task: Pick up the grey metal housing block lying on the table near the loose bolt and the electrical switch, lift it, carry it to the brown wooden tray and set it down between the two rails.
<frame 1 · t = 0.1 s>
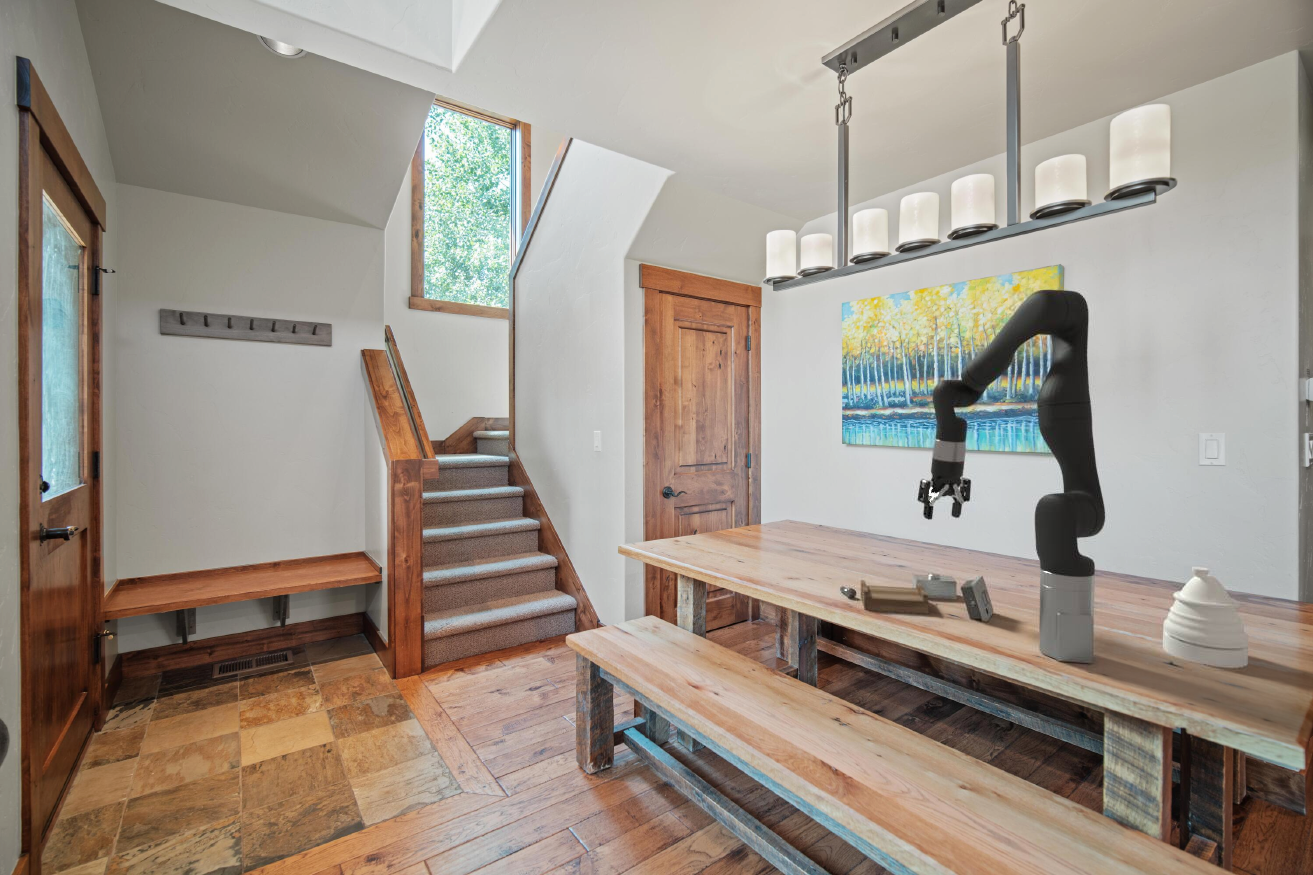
hand: (941, 517, 158), 22 cm above the table, tool pointing down, fingers open, 8 cm apart
honey pot: (1203, 655, 123), on the table
electrical switch: (977, 616, 148), on the table
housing: (933, 595, 165), on the table
bolt: (847, 594, 166), on the table
brown wooden tray: (892, 604, 157), on the table
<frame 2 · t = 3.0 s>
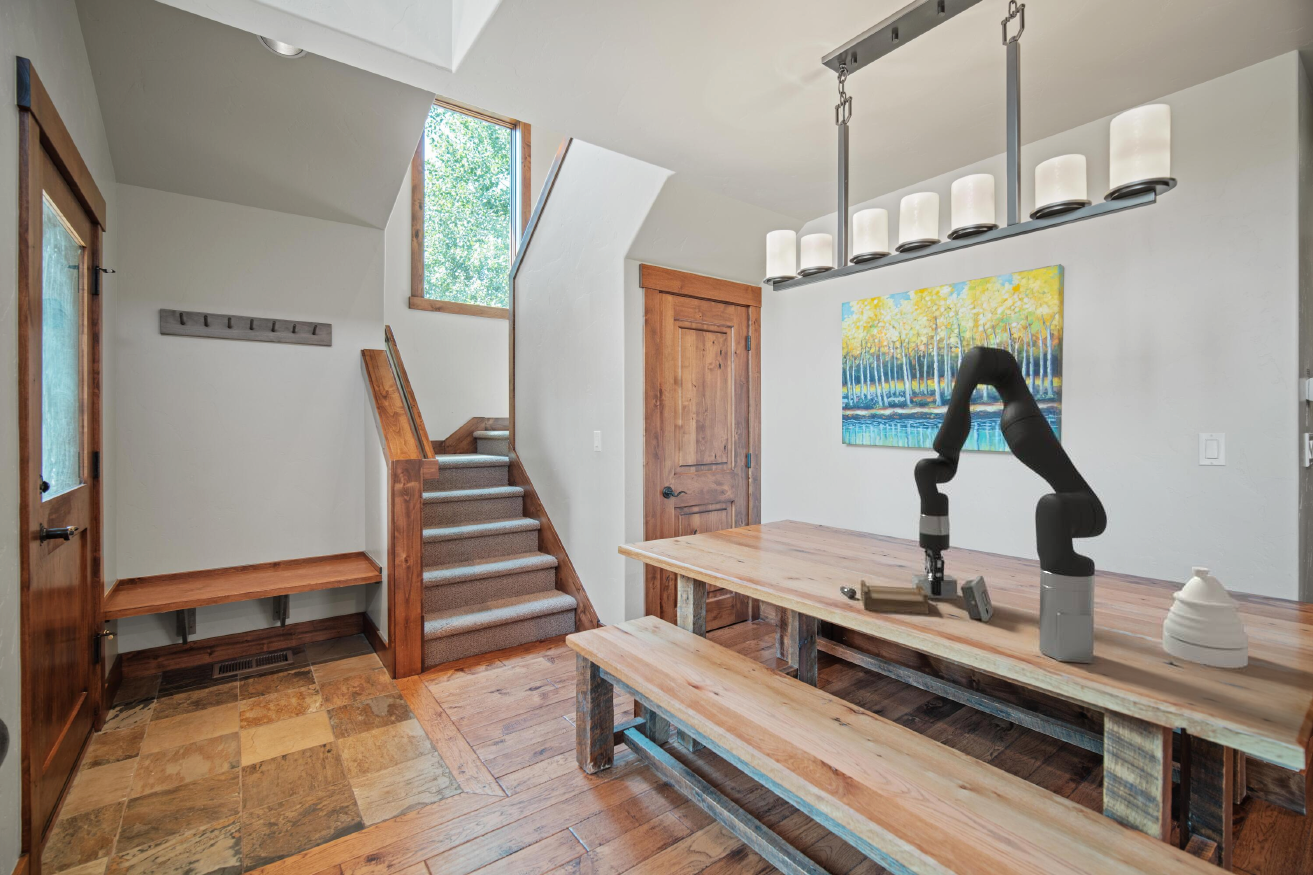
hand: (933, 591, 165), 1 cm above the table, tool pointing down, fingers closed on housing, 6 cm apart
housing: (934, 595, 165), on the table, touching gripper
everything else where it was.
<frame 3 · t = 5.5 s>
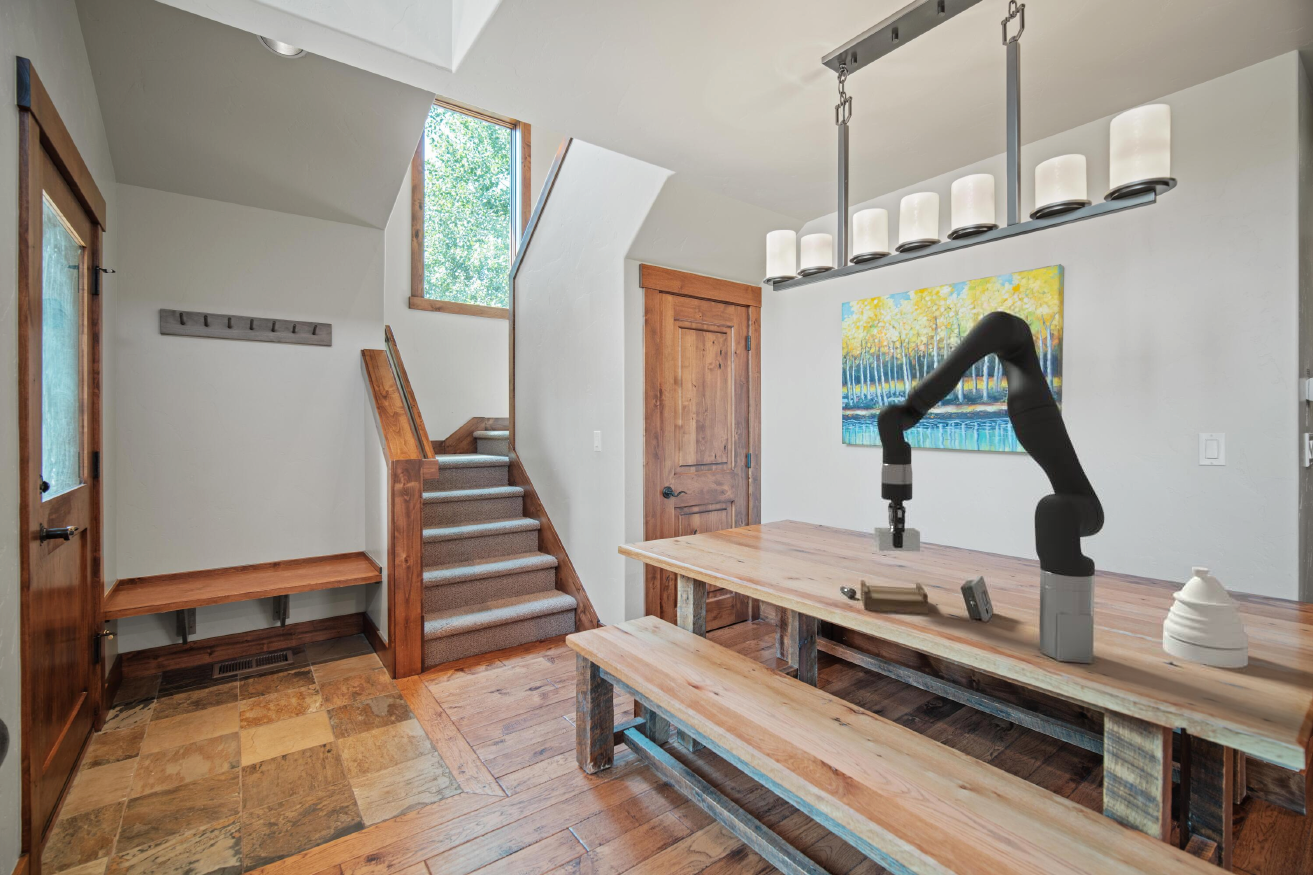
hand: (896, 544, 157), 15 cm above the table, tool pointing down, fingers closed on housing, 6 cm apart
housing: (896, 548, 157), point 14 cm above the table, touching gripper
everything else where it was.
when the fingers open (5 cm above the table, at t = 8.1 s): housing stays where it is, resting on brown wooden tray.
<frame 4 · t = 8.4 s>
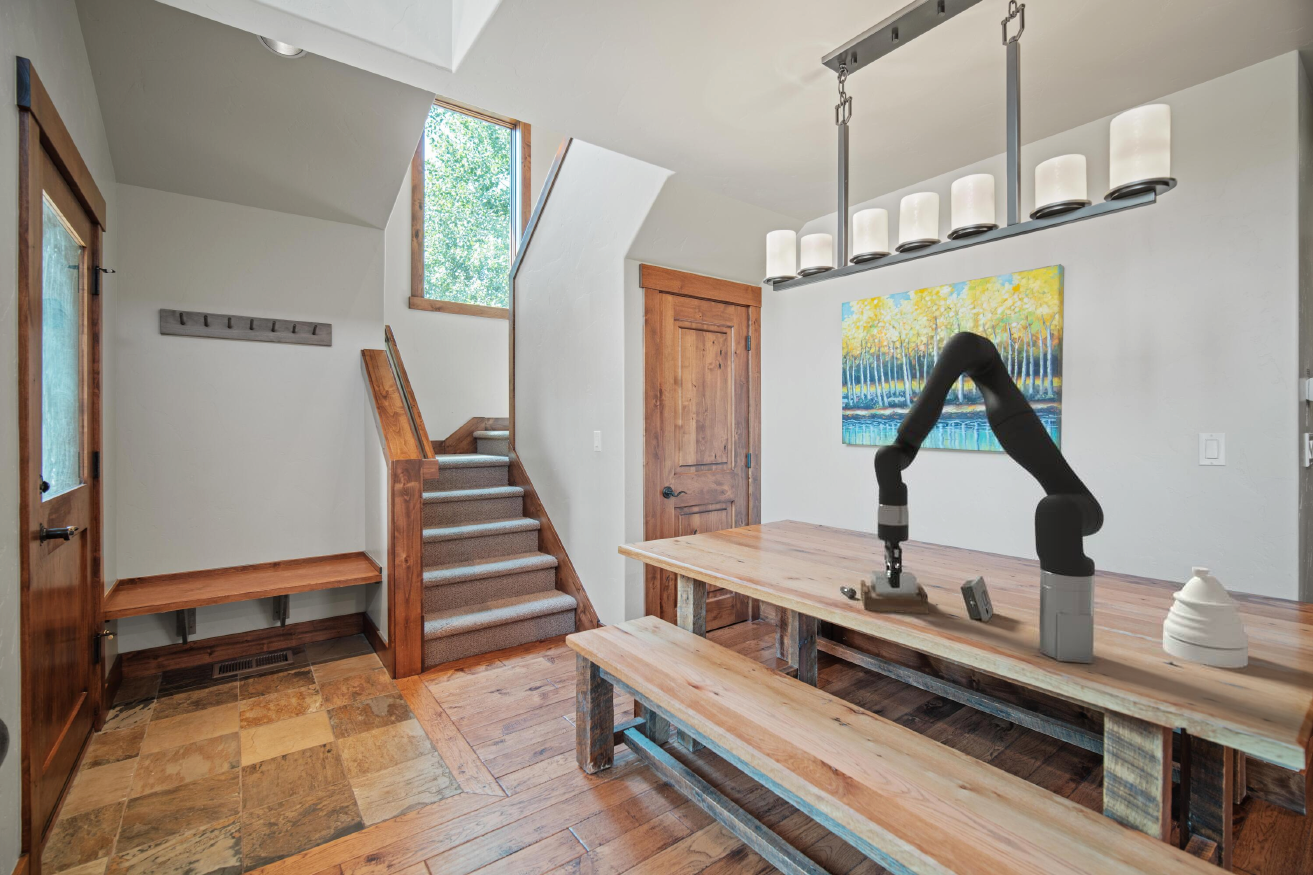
hand: (892, 583, 157), 6 cm above the table, tool pointing down, fingers open, 8 cm apart
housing: (893, 593, 157), point 3 cm above the table, touching brown wooden tray
everything else where it was.
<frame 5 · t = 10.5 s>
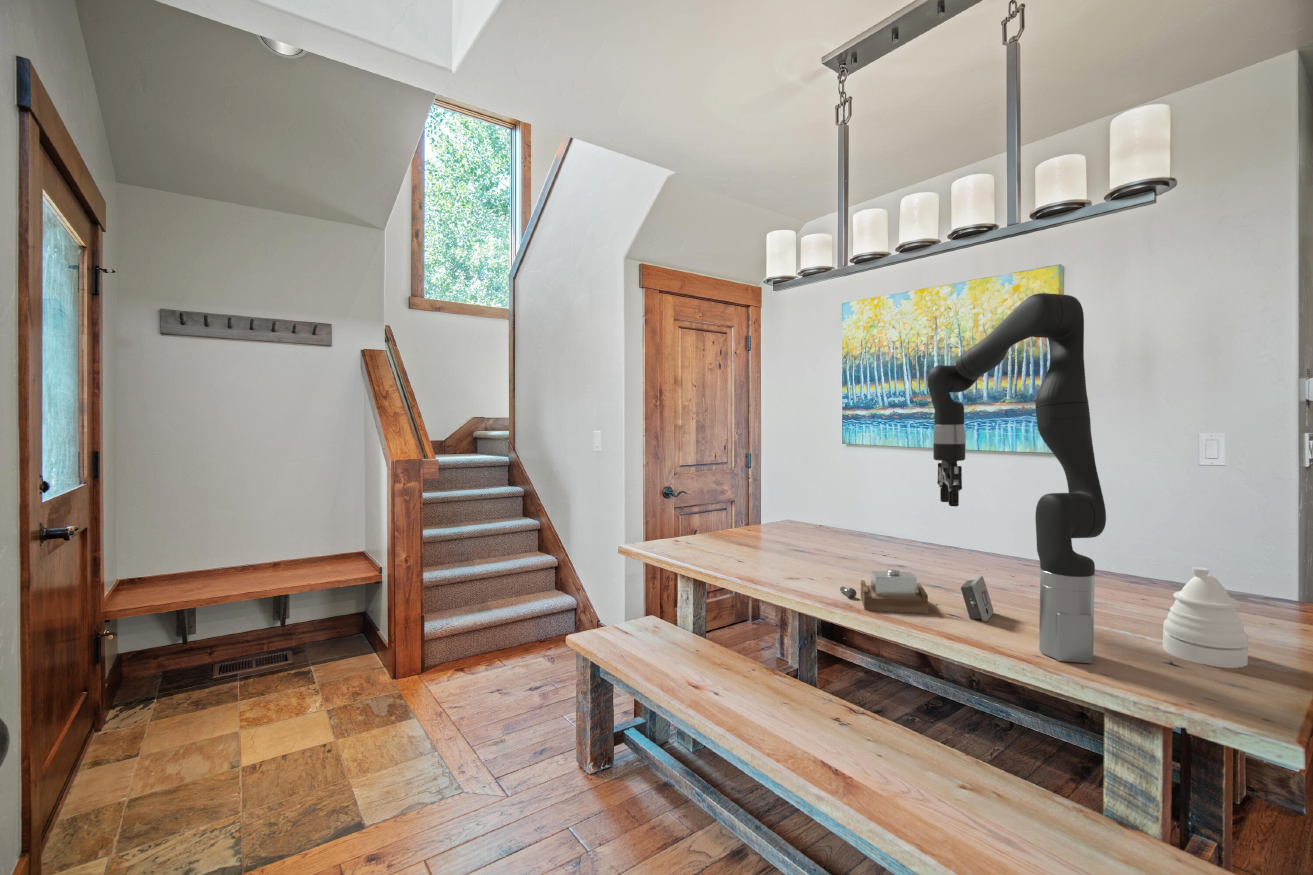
hand: (949, 503, 157), 26 cm above the table, tool pointing down, fingers open, 8 cm apart
nothing on the table moved.
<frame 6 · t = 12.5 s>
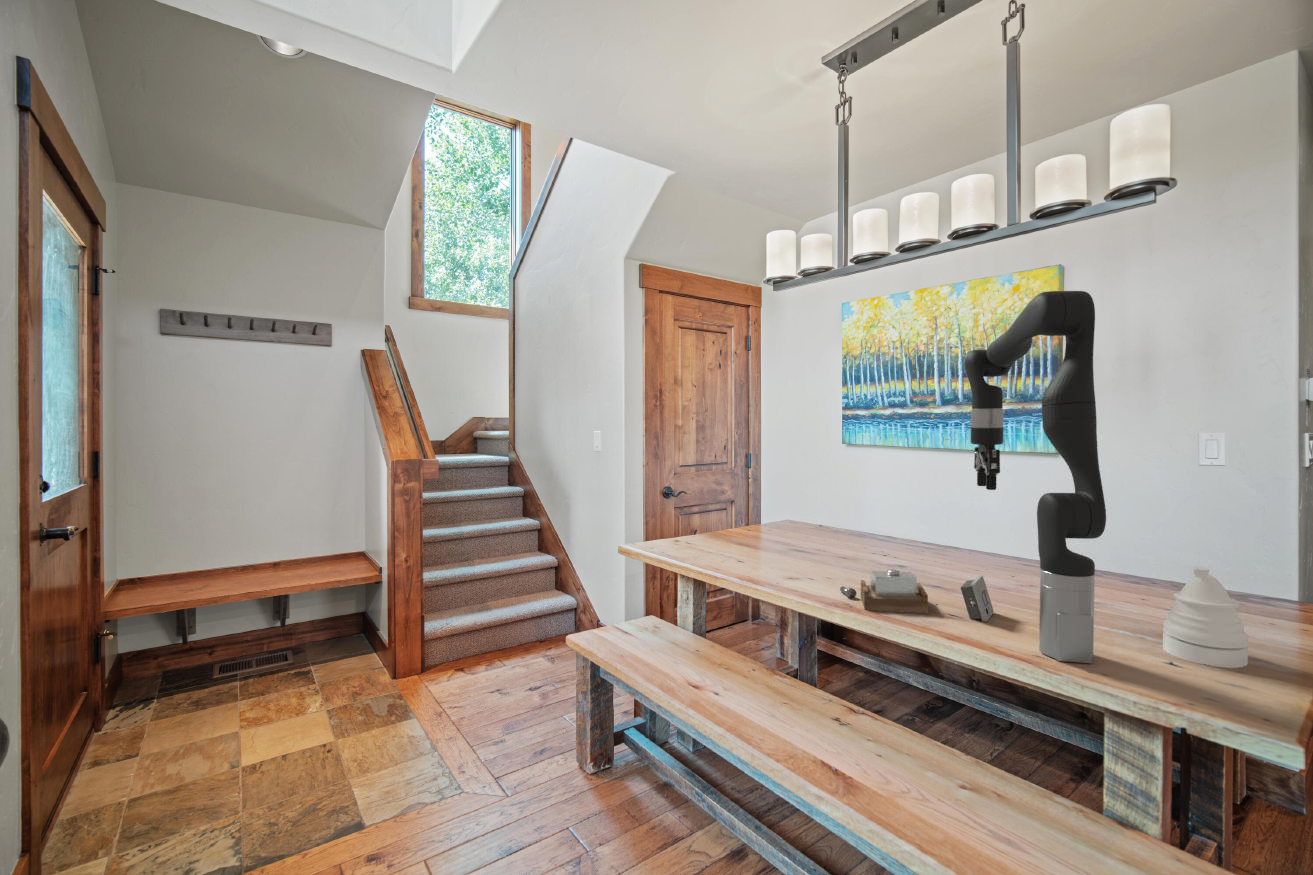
hand: (986, 487, 158), 30 cm above the table, tool pointing down, fingers open, 8 cm apart
nothing on the table moved.
at the end: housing inside the target area on the brown wooden tray (0.1 cm from its centre), point 3.0 cm above the brown wooden tray's base; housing tilted 0°; the gripper is holding nothing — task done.
